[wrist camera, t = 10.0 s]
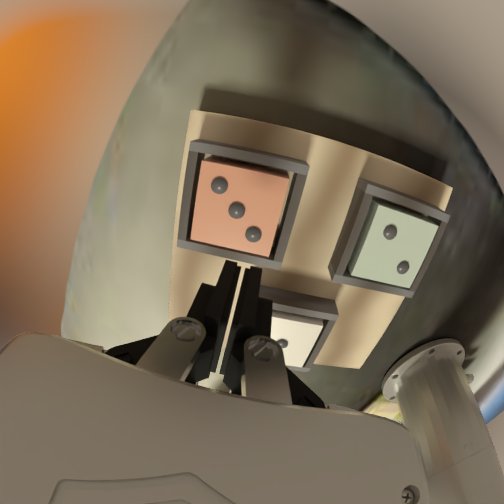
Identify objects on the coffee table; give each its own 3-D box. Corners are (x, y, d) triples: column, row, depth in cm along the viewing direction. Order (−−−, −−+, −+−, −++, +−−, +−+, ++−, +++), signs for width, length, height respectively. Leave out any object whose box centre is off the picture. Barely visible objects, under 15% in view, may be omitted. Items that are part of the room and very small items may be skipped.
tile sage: (425, 216, 18) (439, 227, 16) (400, 274, 20) (410, 289, 18) (368, 195, 17) (379, 205, 16) (344, 261, 20) (351, 276, 18)
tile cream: (320, 309, 22) (323, 326, 20) (300, 351, 24) (301, 368, 22) (258, 297, 22) (257, 314, 20) (246, 341, 24) (243, 358, 22)
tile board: (440, 181, 18) (466, 195, 15) (356, 355, 28) (363, 382, 24) (198, 110, 18) (181, 108, 14) (174, 320, 27) (162, 348, 23)
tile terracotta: (288, 172, 17) (289, 179, 15) (269, 243, 20) (268, 257, 18) (209, 156, 17) (201, 160, 15) (198, 227, 19) (190, 239, 18)
